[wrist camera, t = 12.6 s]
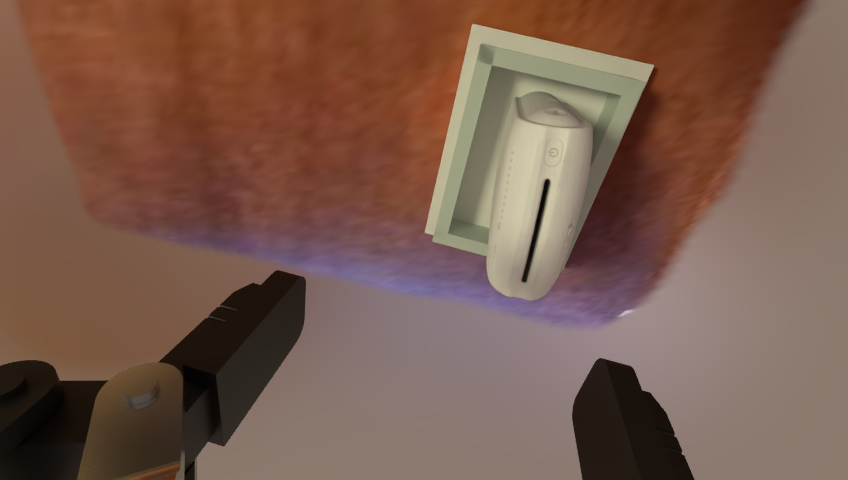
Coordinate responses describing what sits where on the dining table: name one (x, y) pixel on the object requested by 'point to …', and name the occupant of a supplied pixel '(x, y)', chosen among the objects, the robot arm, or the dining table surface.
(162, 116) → the dining table surface
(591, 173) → the printer dock
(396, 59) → the dining table surface
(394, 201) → the dining table surface
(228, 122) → the dining table surface
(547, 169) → the photo printer
